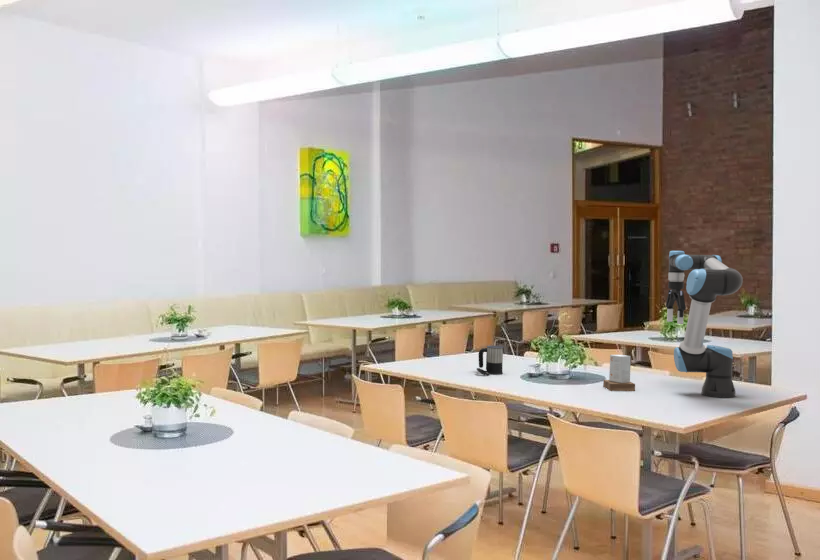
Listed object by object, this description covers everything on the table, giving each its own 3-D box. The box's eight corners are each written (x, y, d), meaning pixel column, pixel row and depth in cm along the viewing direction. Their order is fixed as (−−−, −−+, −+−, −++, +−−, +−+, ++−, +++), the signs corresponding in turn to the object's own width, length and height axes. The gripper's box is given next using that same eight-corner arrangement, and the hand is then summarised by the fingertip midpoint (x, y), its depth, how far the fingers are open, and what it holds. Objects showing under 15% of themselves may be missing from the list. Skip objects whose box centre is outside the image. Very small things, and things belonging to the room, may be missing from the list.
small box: (630, 382, 400) (631, 356, 400) (620, 383, 397) (621, 356, 397) (618, 380, 407) (619, 354, 407) (608, 381, 404) (609, 354, 404)
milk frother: (503, 372, 451) (503, 345, 451) (502, 376, 436) (503, 349, 435) (477, 371, 453) (477, 345, 453) (476, 375, 437) (476, 348, 437)
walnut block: (634, 392, 397) (635, 384, 397) (610, 392, 396) (610, 383, 396) (626, 388, 409) (627, 380, 409) (603, 387, 408) (603, 379, 408)
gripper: (693, 282, 405) (692, 324, 405) (673, 280, 430) (672, 320, 430) (678, 281, 404) (677, 324, 405) (659, 280, 429) (658, 320, 430)
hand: (674, 322), depth 418 cm, fingers open, 13 cm apart
